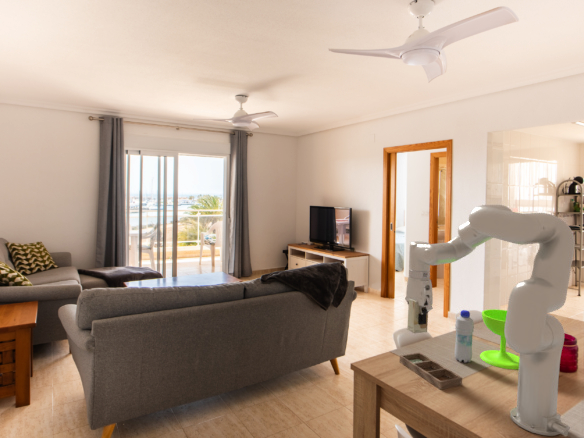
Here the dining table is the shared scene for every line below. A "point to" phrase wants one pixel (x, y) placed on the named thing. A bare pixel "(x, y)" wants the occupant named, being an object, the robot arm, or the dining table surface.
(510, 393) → the dining table surface
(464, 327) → the bottle
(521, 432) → the dining table surface
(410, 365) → the notch rack
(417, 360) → the mat
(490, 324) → the wineglass
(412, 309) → the skincare box
